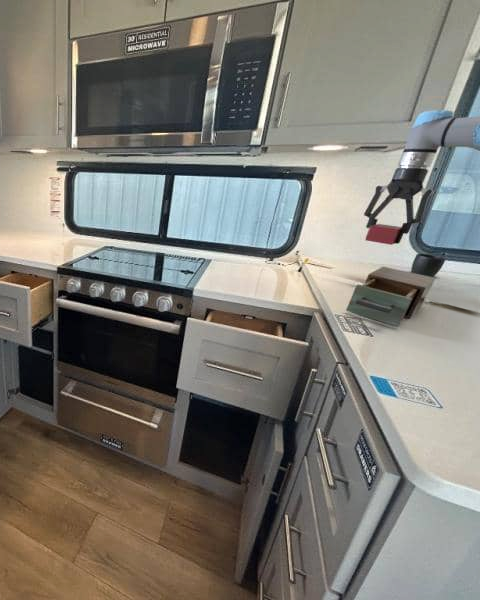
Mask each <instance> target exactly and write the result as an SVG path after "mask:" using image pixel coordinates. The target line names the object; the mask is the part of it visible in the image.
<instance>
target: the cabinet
mask: <svg viewBox="0 0 480 600" xmlns="http://www.w3.org/2000/svg"><path fill="white" fill-rule="evenodd" d="M373 278H376V279H380V280H384V281H388V282H392V283H396V284H401V285H405V286H409V287H413V288H417V289H419V290H418V292H417V294H416V296H415V298H414V300H413V302H412V304H411V306H410V308H409V309H408V312H407V313H406V314H405V315H404V316H403V318H405V319H408V320H410V319H411V318H413V316H414V315H415V314H416V313H417V312H418V311H419V310H420V308H421V307H422V305H423V304H424V302H425V300H426V298H427V296H428V294H429V292H430V291H431V288H432V286H433V285H434V282H435V280H436V279H437V278H436V277H435V276H434V277H429V276H424V275H420V274H415V273H411V271H406V270H400V269H396V268H391V267H386V266H381V267H379V268H377V269H376V270H374V271H372V272H370V273H368V275H367V277H366V279H365V282H364V284H365V283H366V282H368V281H370V280H372V279H373Z"/></svg>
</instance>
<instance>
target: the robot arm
mask: <svg viewBox="0 0 480 600" xmlns="http://www.w3.org/2000/svg"><path fill="white" fill-rule="evenodd" d="M441 147H442V148H446V147H447V148H468V149H474V150H476V151H480V116H465V117H454V111H453V110H449V109H440V110H439V109H435V110H434V109H433V110H426V111H423V112H421V113H420V114H419V115H418V116H417V118H416V120H415V122H414V124H413V126H412V127H411V130H410V133H409V136H408V138H407V141H406V144H405V145H404V149H403V150H402V153H401V156H400V158H399V161H398V163H397V166H398V167H397V168H395V170H394V173H393V175H392V177H391V181H390V182H389V183H388V184H387V185H377V186H376V187H375V193H374V195H372V198H371V200H370V202H369V204H368V205H367V206H366V207H367V208H366V209H365V211H364V212H363V216H364V217H367V218H368V220H367V224H366V225H365V228H366V229H368V231H367V233H366V235H365V238H366V237H367V234H368V232H369V229H370V227H371V225H376V224H378V220H379V218H377V217H378V216H379V215H380V214H381V213H382V212H383V211H384V210H385V208H386V207H387V206H388V205H389V204H390V203H391V202H392V201H393V200H394V199H401V200H405V201H404V202H405V210H406V211H405V213H406V222H403V223H402V225H401V226H400V227H401V229H400V232H399V234H398V236H397V239H396V241H395V244H397V245H398V244H400V243H401V241H402V238H403V236H404V234H405V235H408V234H409V233H410V231H411V229H412V226H413V225H414V224H418V223H421V222H422V223H423V220H424V216H425V213H426V209H427V206H428V203H429V199H430V197H432V196H431V195H432V194H433V193H434V190H433V189H429V188H425V187H424V182H425V179H426V177H427V175H428V173H429V169H428V168H430V167H431V166H432V164H433V161H434V159H435V157H436V154H437V153H438V149H439V148H441ZM386 190H387V191H388V195H387V196H386V197H385V199H384V200H383V201H382V202H381V203H380V204H379V205H378V206H377V208H375V207H376V205H377V203H378V201H379V199H380V198H381V196H382V193H385V191H386ZM420 192H421V193H420ZM419 193H420V195H421V199H420V202H419V206H418V210H417V214H416V217H415V214H414V196H415V195H417V194H419ZM374 209H375V210H374ZM373 210H374V211H373Z"/></svg>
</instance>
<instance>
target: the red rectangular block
mask: <svg viewBox="0 0 480 600" xmlns="http://www.w3.org/2000/svg"><path fill="white" fill-rule="evenodd" d="M401 227H402V226H397V225H391V224H383V223H376V225H371V227H370V229H369V228H368V230H369V232H368V231H367V233H368V234H367V233H366V235H367V237H366V236H365V241H366V242H372V243H378V244H385V245H391V246H392V245H395V244H396V243H395V241H396V239H397V236H398V234H399V232H400V229H401Z"/></svg>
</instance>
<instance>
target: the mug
mask: <svg viewBox="0 0 480 600" xmlns="http://www.w3.org/2000/svg"><path fill="white" fill-rule="evenodd" d="M446 260H447V258H445V257H442V256H440V255H439V256H438V255H434V254H428V253H416V255H415V257H414V260H413V261H412V265H411V270H410V273H415V274H420V275H424V276H429V277H434V278H435V276H436V275H437V274H438V273H439V272H440V271H441V270H442V267H443V266H444V264H445V262H446Z"/></svg>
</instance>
